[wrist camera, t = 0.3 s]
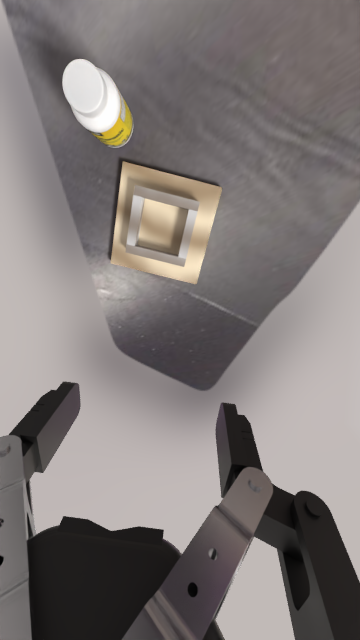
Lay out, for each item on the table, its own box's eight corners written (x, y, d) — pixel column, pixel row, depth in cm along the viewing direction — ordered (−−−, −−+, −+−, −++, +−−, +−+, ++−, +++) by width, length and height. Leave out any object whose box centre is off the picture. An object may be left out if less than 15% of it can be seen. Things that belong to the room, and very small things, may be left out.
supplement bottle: (97, 149, 33) (60, 122, 24) (91, 99, 31) (47, 47, 22) (136, 148, 32) (113, 119, 23) (132, 97, 30) (106, 44, 21)
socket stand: (124, 163, 33) (118, 157, 30) (221, 188, 34) (224, 185, 31) (112, 262, 38) (106, 265, 36) (196, 282, 39) (196, 287, 36)
